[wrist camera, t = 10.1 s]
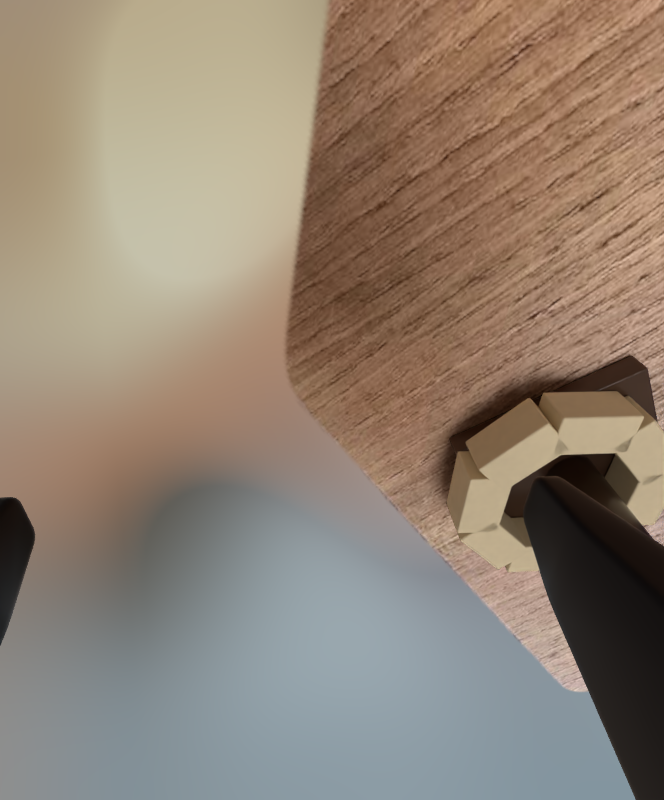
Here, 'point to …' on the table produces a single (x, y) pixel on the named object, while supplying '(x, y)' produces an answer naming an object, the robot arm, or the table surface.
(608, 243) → the table surface
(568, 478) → the stand
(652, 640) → the robot arm
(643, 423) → the ring
